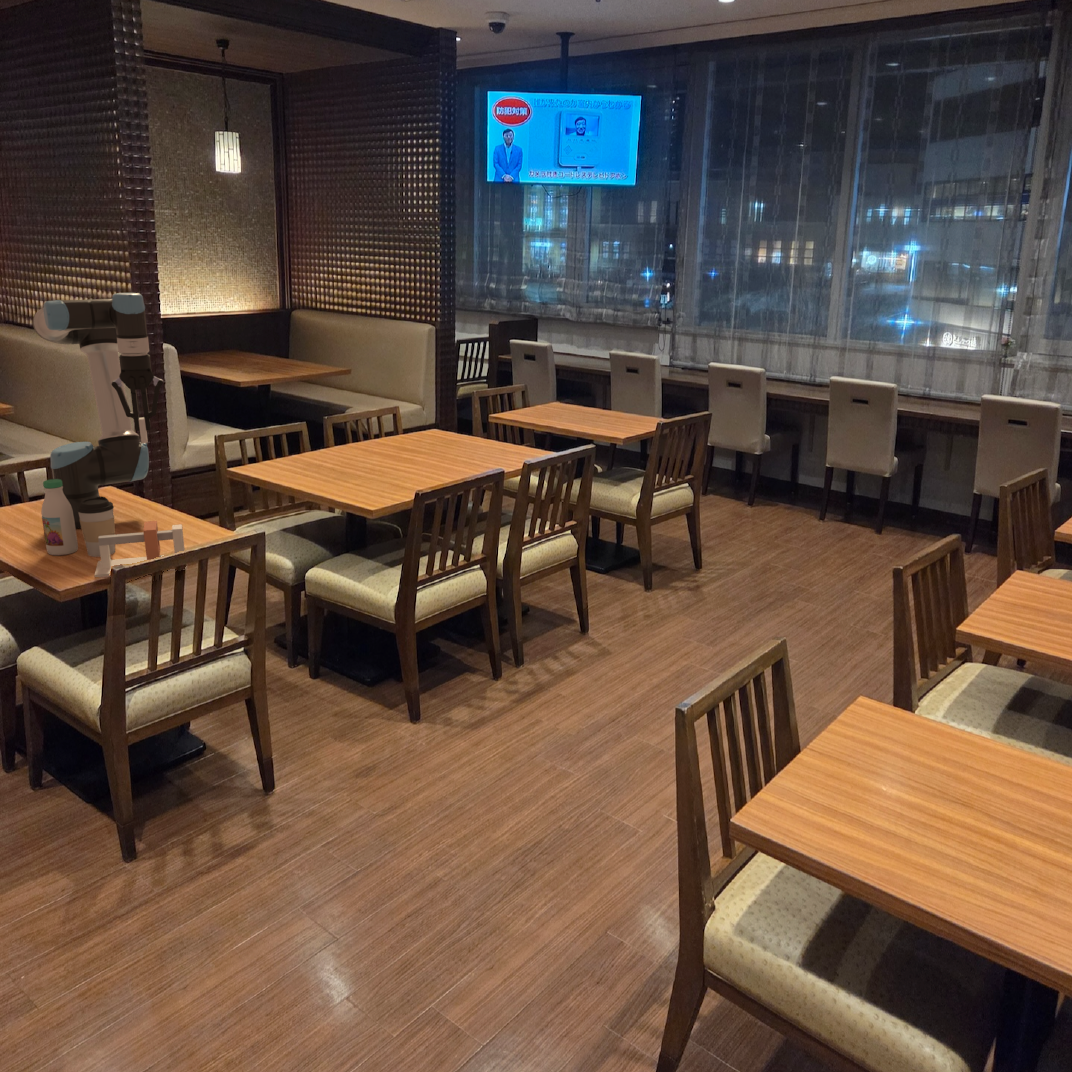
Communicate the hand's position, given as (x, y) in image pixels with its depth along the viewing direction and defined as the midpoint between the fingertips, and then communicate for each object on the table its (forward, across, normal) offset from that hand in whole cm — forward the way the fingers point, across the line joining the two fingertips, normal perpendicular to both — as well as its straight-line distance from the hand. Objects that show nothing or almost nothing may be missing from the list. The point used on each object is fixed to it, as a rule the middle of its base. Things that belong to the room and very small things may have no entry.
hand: (144, 442), depth 258 cm
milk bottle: (+30, -24, +2) cm, 38 cm away
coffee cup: (+30, -14, -2) cm, 33 cm away
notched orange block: (+22, 0, -17) cm, 28 cm away
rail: (+29, -3, -17) cm, 34 cm away
